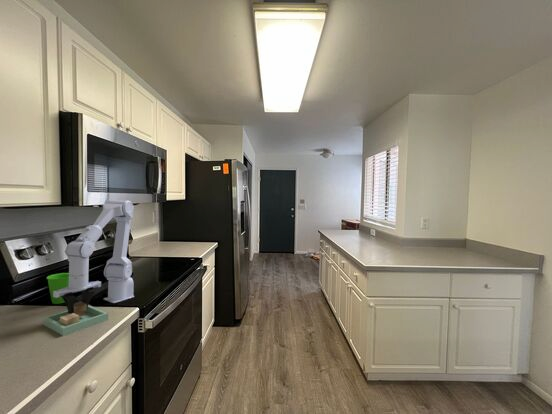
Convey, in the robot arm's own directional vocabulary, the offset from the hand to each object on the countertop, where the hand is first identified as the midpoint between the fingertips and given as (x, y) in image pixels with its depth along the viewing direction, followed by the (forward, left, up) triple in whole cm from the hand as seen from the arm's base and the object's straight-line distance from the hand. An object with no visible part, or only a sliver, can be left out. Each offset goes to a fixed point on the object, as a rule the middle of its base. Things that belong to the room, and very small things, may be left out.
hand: (77, 311), depth 97 cm
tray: (+2, +3, -3) cm, 4 cm away
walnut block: (0, 0, -2) cm, 2 cm away
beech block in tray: (+5, +6, -3) cm, 8 cm away
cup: (-4, -24, -4) cm, 25 cm away
